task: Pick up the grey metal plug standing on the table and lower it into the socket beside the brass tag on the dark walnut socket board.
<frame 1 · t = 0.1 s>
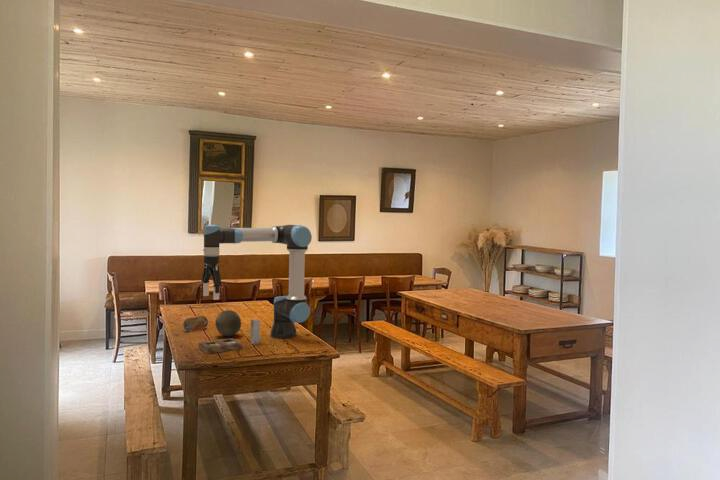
hand: (211, 297, 262), 28 cm above the table, tool pointing down, fingers open, 13 cm apart
plug: (255, 343, 284), on the table
socket board: (220, 348, 271), on the table
tin: (195, 330, 311), on the table
dark grey round ball: (228, 336, 298), on the table
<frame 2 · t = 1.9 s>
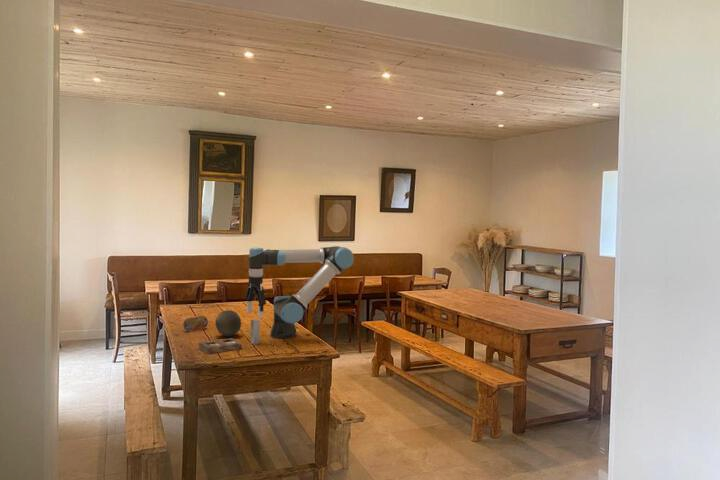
hand: (255, 315, 283), 15 cm above the table, tool pointing down, fingers open, 13 cm apart
nothing on the table moved.
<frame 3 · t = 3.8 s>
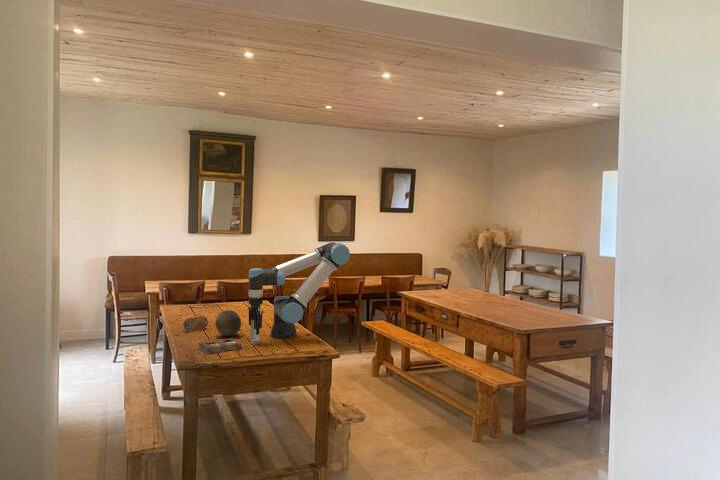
hand: (255, 339, 284), 2 cm above the table, tool pointing down, fingers closed on plug, 3 cm apart
plug: (255, 343, 284), on the table, touching gripper
everything else where it was.
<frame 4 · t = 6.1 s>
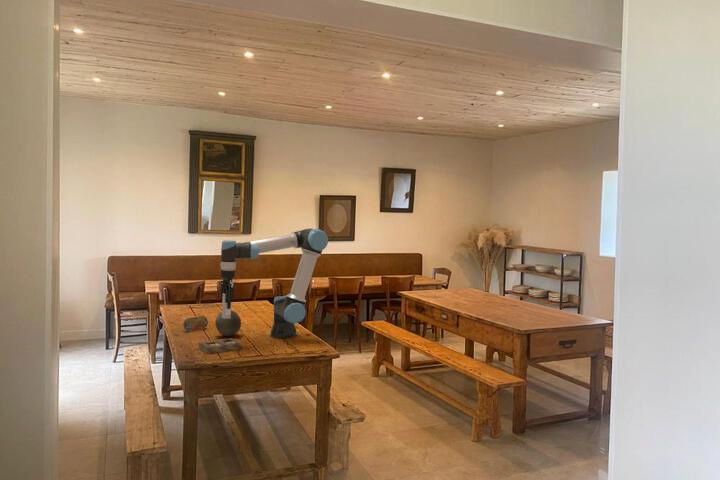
hand: (226, 314, 274), 17 cm above the table, tool pointing down, fingers closed on plug, 3 cm apart
plug: (226, 317, 274), point 15 cm above the table, touching gripper
everything else where it was.
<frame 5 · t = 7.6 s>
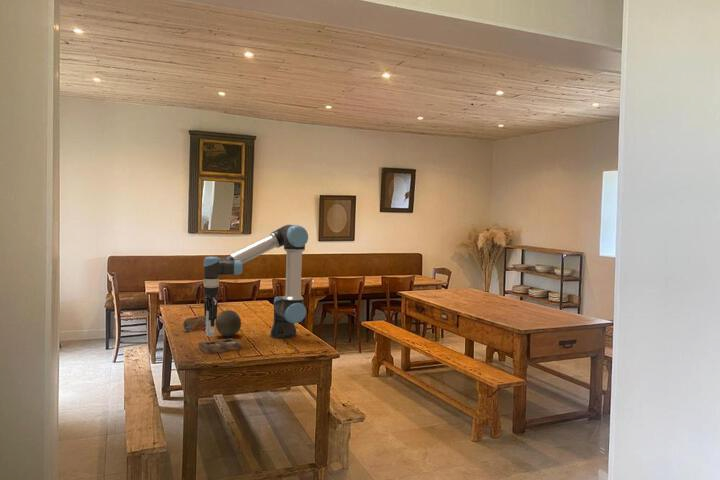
hand: (210, 331, 270), 9 cm above the table, tool pointing down, fingers closed on plug, 3 cm apart
plug: (210, 335, 270), point 7 cm above the table, touching gripper
everything else where it was.
when the fingers open (5 cm above the table, at t = 8.7 s): plug drops 3 cm, resting in socket board.
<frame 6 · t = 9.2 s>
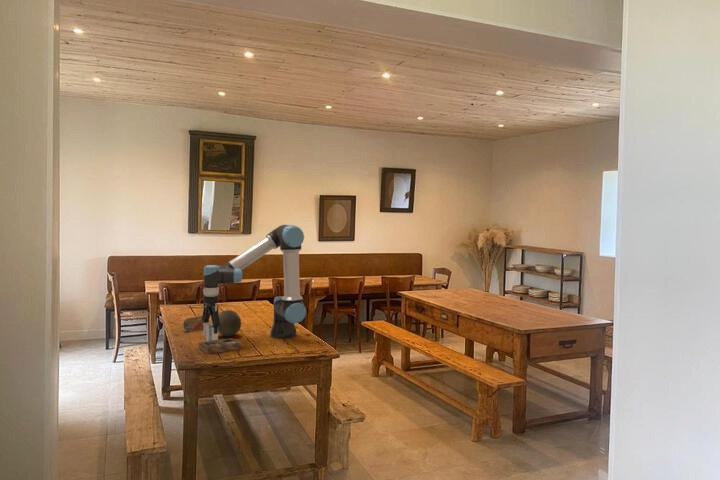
hand: (210, 337, 270), 6 cm above the table, tool pointing down, fingers open, 11 cm apart
plug: (210, 348, 270), resting in socket board
everything else where it was.
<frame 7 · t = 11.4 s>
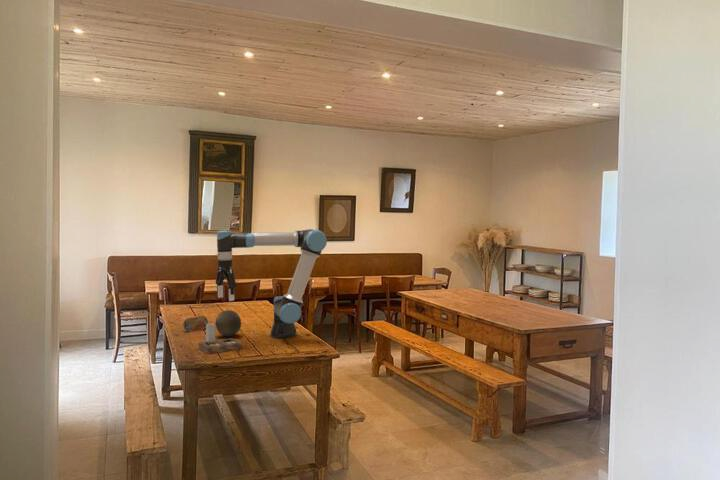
hand: (226, 299, 279), 25 cm above the table, tool pointing down, fingers open, 13 cm apart
nothing on the table moved.
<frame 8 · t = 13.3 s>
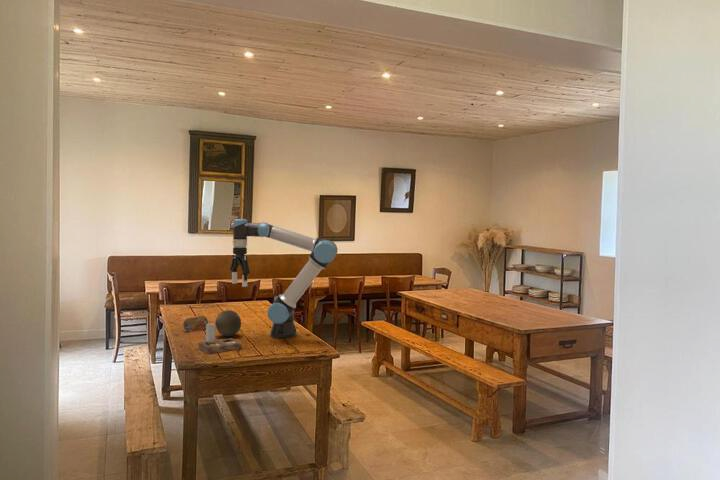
hand: (239, 285, 289), 31 cm above the table, tool pointing down, fingers open, 13 cm apart
nothing on the table moved.
at the end: plug 0.0 cm from the target spot on the socket board, point 0.0 cm above the socket board's base; plug tilted 0°; the gripper is holding nothing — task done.
